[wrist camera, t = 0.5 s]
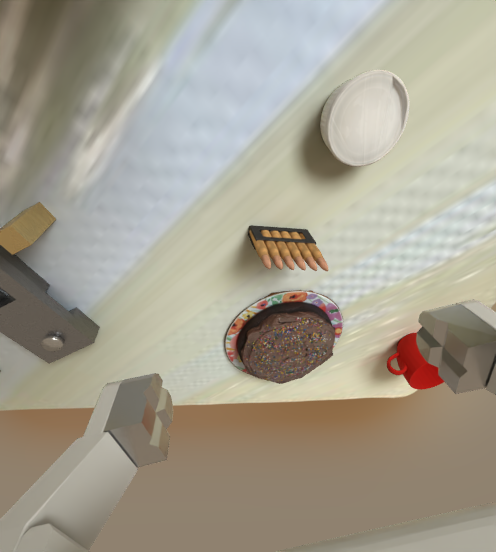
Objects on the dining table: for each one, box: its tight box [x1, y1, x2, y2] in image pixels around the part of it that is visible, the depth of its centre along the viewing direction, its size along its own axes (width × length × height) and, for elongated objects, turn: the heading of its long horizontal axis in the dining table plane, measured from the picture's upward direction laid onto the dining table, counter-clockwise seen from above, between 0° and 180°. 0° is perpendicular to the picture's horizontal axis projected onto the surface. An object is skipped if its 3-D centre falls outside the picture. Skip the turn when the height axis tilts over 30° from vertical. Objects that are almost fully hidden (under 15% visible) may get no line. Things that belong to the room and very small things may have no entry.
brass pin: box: [0, 202, 56, 255], centre depth 38 cm, size 3×3×8 cm
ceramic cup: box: [387, 333, 444, 389], centre depth 70 cm, size 13×17×10 cm
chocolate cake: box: [225, 290, 343, 384], centre depth 63 cm, size 28×28×7 cm
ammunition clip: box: [248, 226, 328, 271], centre depth 44 cm, size 11×2×12 cm, turn 81°
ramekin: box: [320, 70, 409, 166], centre depth 38 cm, size 11×11×5 cm
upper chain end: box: [0, 256, 100, 363], centre depth 47 cm, size 20×10×5 cm, turn 24°
